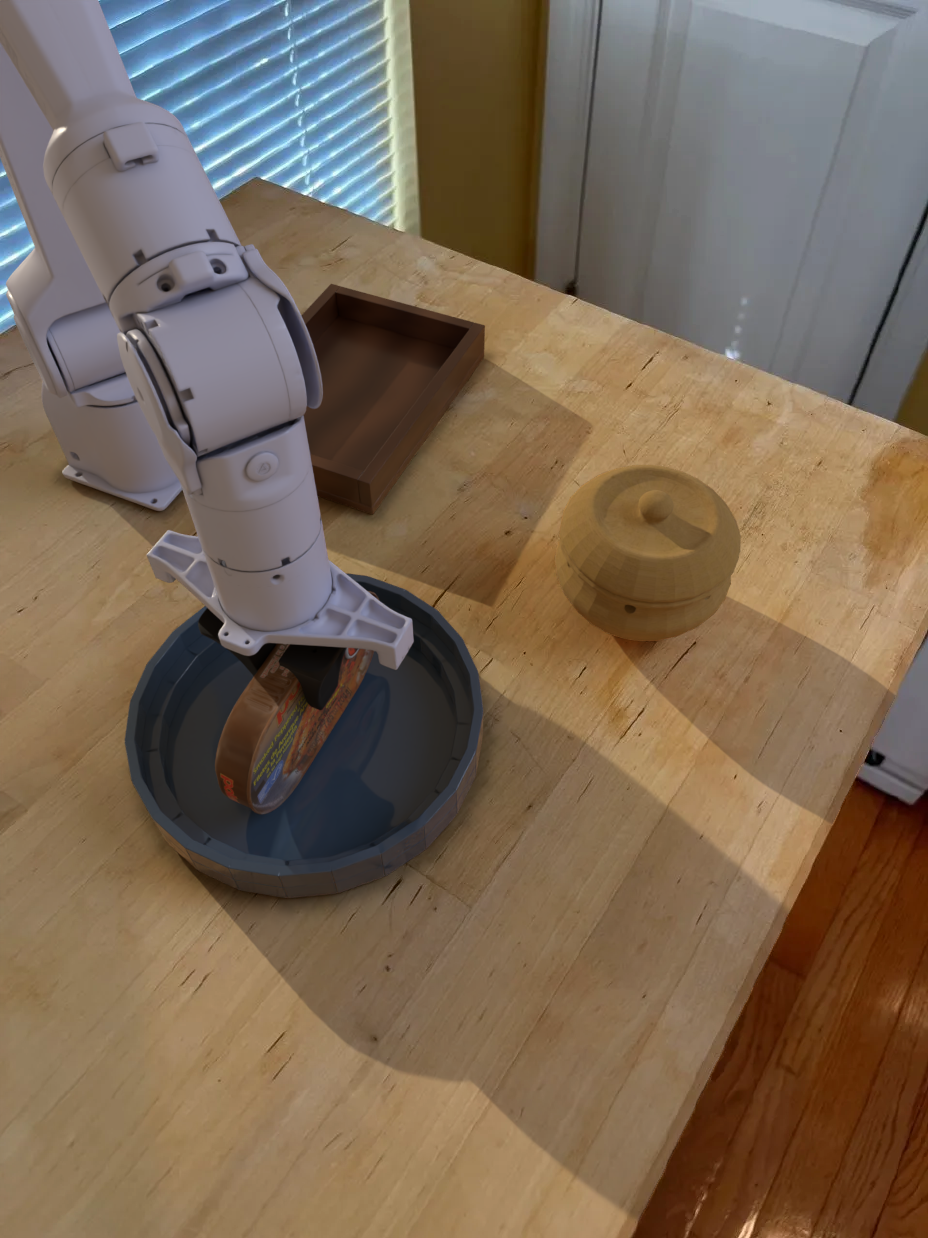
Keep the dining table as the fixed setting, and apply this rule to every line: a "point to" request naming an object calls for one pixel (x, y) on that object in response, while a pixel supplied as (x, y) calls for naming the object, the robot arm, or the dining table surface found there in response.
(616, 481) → the pot
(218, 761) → the tin
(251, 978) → the dining table surface
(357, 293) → the holder
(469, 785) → the bowl
